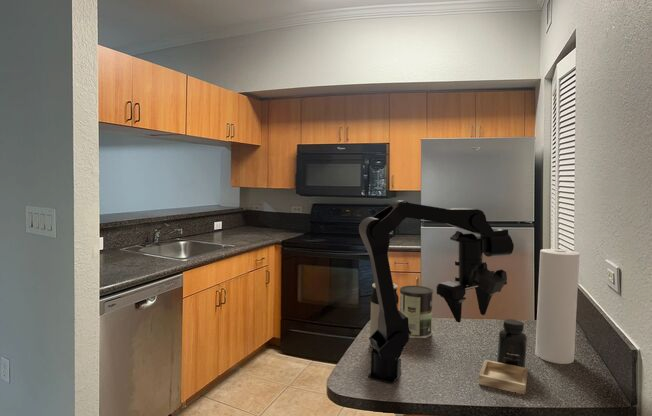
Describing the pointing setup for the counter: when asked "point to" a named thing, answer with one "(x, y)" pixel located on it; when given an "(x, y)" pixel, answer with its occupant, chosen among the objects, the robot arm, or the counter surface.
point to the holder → (503, 376)
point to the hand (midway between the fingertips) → (470, 318)
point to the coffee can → (417, 309)
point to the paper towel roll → (557, 305)
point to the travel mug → (377, 308)
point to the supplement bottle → (512, 343)
